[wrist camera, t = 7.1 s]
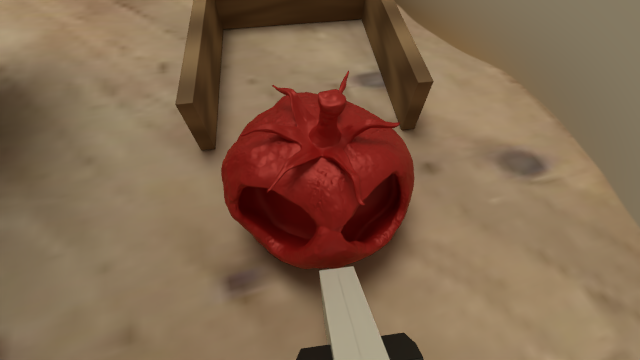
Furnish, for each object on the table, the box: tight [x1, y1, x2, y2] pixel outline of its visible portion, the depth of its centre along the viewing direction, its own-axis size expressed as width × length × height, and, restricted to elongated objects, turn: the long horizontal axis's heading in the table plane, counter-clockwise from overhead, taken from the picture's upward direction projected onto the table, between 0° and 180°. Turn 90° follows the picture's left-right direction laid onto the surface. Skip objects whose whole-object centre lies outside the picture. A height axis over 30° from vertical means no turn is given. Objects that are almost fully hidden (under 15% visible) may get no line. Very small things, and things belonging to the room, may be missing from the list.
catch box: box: [175, 0, 433, 150], centre depth 24 cm, size 16×16×4 cm
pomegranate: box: [221, 71, 414, 269], centre depth 15 cm, size 10×10×9 cm
